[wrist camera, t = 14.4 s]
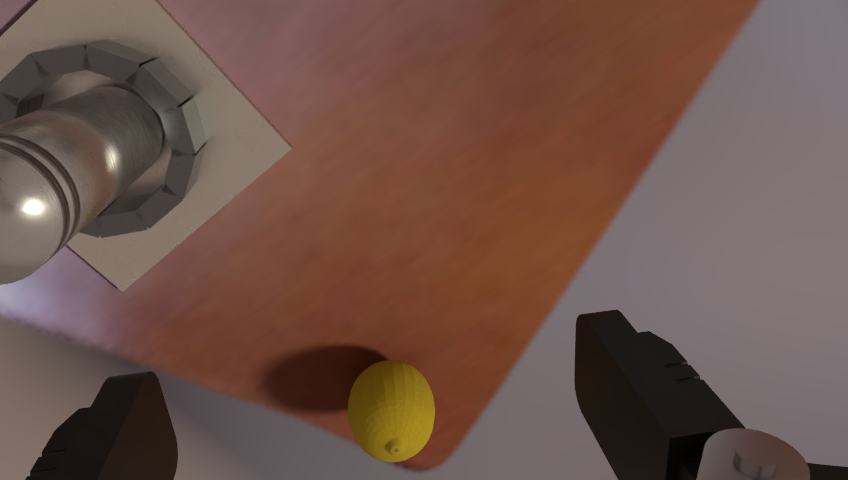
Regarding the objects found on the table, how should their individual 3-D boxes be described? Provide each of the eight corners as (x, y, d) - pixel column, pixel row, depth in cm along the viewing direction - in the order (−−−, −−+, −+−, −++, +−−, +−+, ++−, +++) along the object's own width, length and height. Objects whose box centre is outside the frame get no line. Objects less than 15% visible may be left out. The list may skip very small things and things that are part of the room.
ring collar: (-78, 116, 34) (-121, 130, 31) (102, -59, 32) (76, -64, 29) (125, 288, 40) (106, 315, 36) (292, 146, 38) (287, 161, 34)
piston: (43, 128, 35) (-139, 213, 22) (108, 65, 34) (-41, 116, 21) (119, 196, 37) (-8, 311, 24) (182, 138, 36) (86, 225, 23)
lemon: (439, 384, 45) (458, 463, 38) (369, 417, 45) (375, 501, 38) (405, 325, 43) (419, 396, 36) (332, 359, 43) (331, 437, 36)
